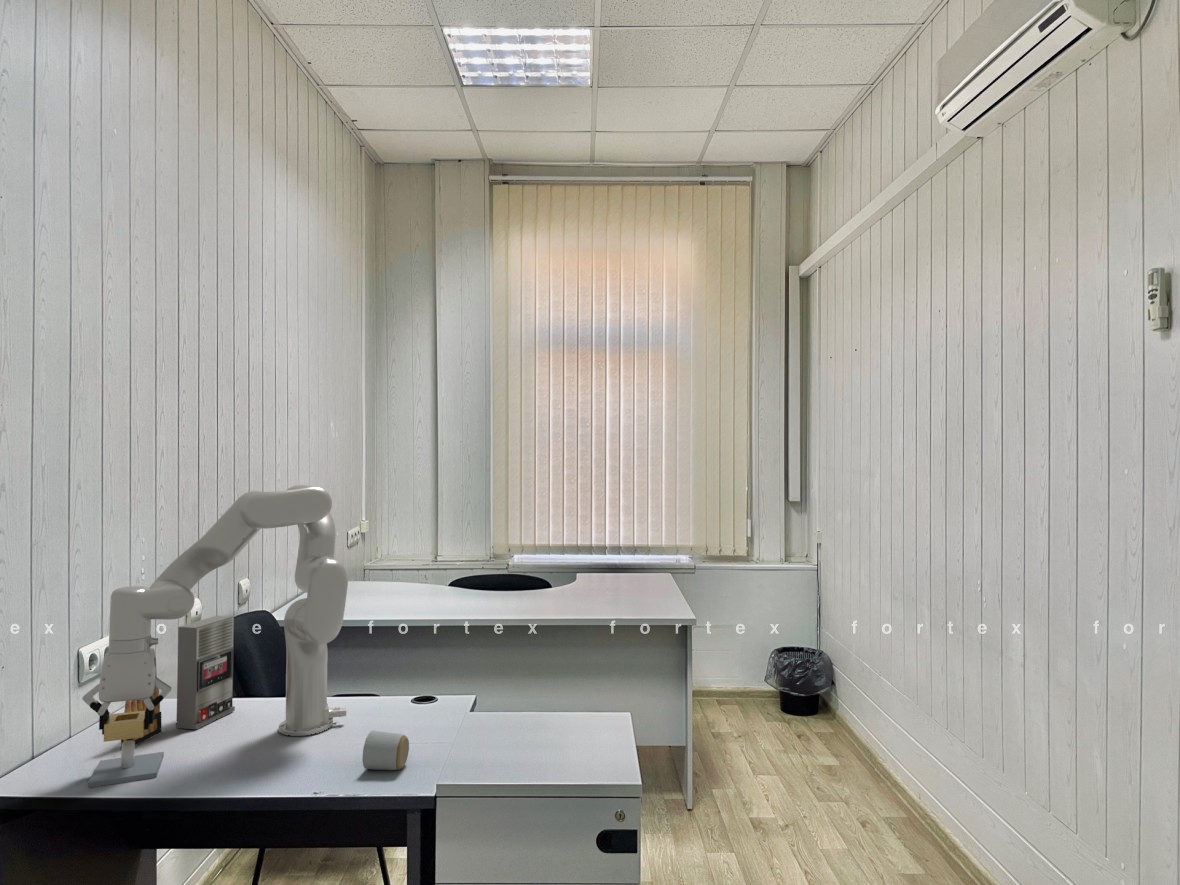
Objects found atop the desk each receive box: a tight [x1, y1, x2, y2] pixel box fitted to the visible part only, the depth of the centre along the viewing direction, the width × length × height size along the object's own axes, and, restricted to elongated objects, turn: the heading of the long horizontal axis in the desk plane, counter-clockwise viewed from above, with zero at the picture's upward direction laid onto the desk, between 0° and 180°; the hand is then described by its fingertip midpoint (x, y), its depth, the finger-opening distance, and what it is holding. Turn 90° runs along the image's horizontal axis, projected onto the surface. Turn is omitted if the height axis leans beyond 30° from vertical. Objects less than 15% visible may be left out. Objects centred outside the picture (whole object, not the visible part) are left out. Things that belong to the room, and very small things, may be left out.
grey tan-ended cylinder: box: [362, 730, 410, 771], centre depth 158 cm, size 11×8×8 cm
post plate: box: [87, 741, 165, 788], centre depth 154 cm, size 12×12×6 cm
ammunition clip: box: [120, 687, 163, 746], centre depth 172 cm, size 11×2×12 cm, turn 171°
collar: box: [103, 710, 146, 743], centre depth 154 cm, size 7×7×4 cm
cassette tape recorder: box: [175, 615, 236, 731], centre depth 186 cm, size 14×6×25 cm, turn 168°
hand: (126, 729), depth 154 cm, fingers closed on collar, 7 cm apart
